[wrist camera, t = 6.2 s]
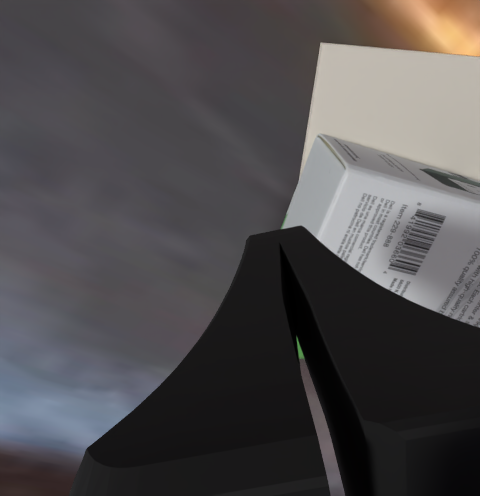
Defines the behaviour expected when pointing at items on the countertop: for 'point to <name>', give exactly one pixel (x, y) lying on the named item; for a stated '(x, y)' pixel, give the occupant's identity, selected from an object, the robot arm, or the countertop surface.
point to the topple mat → (399, 104)
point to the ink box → (394, 223)
